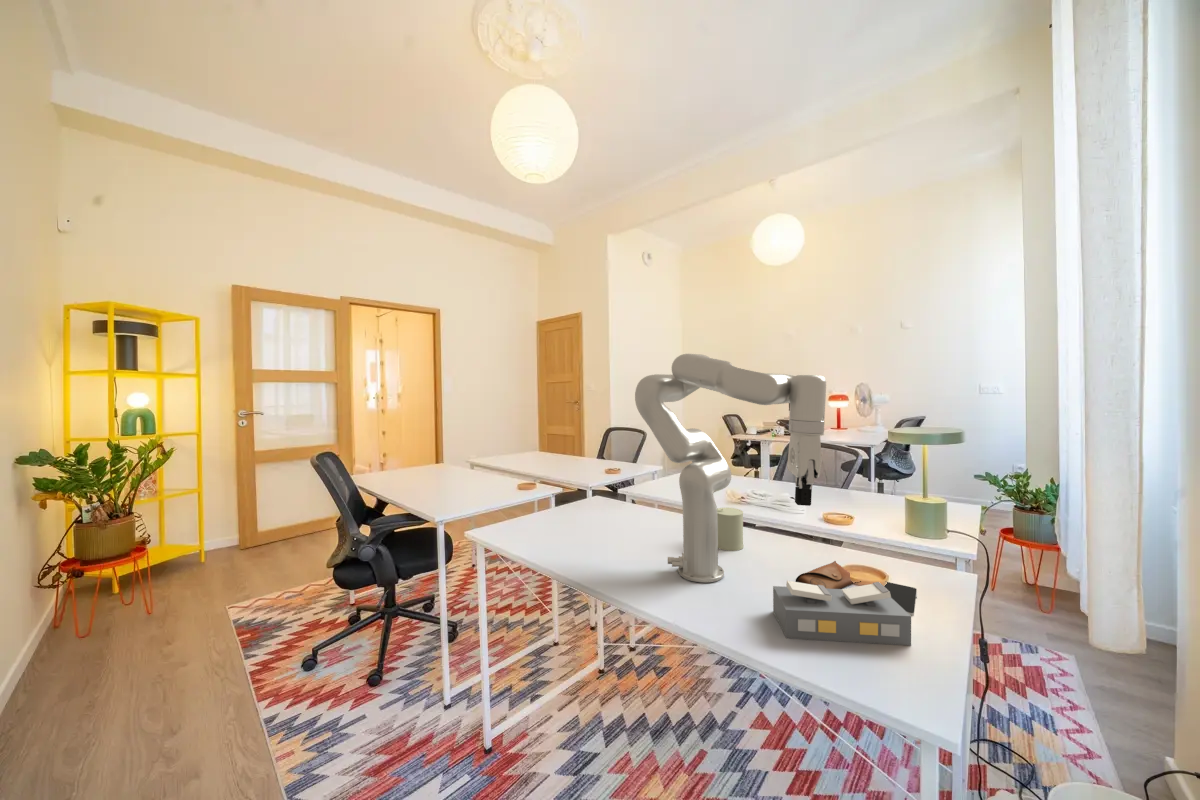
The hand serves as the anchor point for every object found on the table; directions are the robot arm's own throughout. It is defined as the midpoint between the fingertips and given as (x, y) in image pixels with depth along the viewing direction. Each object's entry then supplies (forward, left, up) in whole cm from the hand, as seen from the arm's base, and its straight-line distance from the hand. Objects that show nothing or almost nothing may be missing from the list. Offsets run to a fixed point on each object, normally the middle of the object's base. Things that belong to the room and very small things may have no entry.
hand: (802, 504), depth 105 cm
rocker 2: (+10, -9, -18) cm, 22 cm away
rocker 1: (-2, -9, -18) cm, 20 cm away
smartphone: (+23, +6, -25) cm, 35 cm away
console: (+4, -9, -25) cm, 26 cm away
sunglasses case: (+11, +13, -25) cm, 30 cm away
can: (-12, +39, -25) cm, 48 cm away
